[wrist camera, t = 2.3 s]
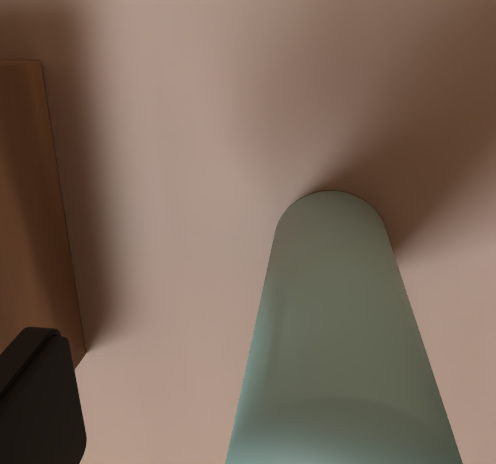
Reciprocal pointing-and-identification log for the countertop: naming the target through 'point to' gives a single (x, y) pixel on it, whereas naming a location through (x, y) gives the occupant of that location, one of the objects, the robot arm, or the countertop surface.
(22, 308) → the socket block
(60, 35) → the countertop surface
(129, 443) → the countertop surface
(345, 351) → the peg
